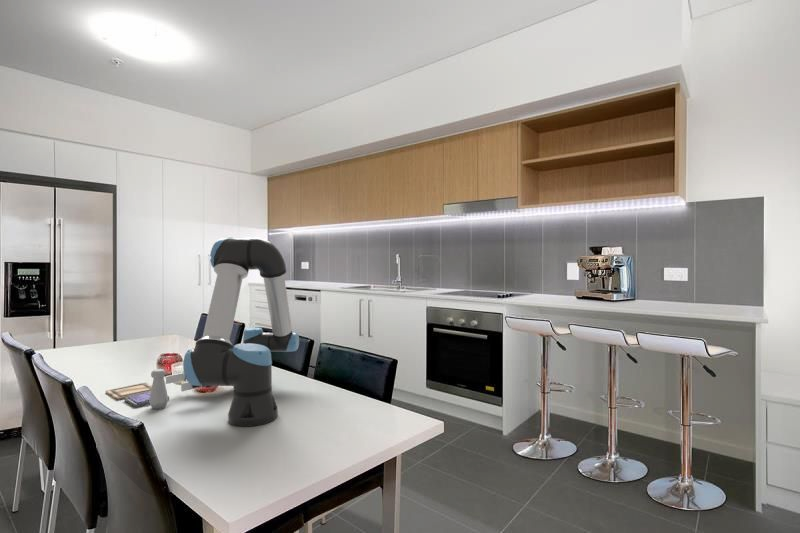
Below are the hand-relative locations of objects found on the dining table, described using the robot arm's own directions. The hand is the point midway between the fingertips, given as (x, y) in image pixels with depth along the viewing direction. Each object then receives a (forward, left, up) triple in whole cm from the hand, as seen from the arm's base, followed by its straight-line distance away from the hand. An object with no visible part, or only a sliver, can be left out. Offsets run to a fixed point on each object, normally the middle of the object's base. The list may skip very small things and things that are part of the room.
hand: (173, 383), depth 157 cm
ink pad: (+10, +5, -7) cm, 13 cm away
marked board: (+25, +5, -7) cm, 27 cm away
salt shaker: (-1, +5, -7) cm, 9 cm away
